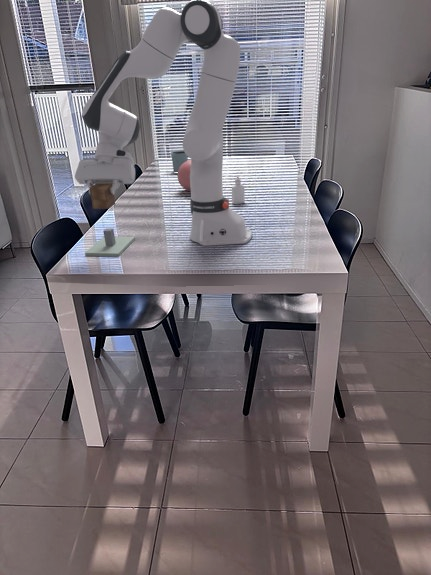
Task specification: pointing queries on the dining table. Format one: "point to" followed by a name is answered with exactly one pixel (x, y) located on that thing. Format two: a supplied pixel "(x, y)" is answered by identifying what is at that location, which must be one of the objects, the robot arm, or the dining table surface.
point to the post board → (109, 249)
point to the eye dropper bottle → (238, 192)
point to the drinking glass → (178, 159)
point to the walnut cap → (101, 196)
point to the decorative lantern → (185, 175)
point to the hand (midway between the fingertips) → (101, 193)
